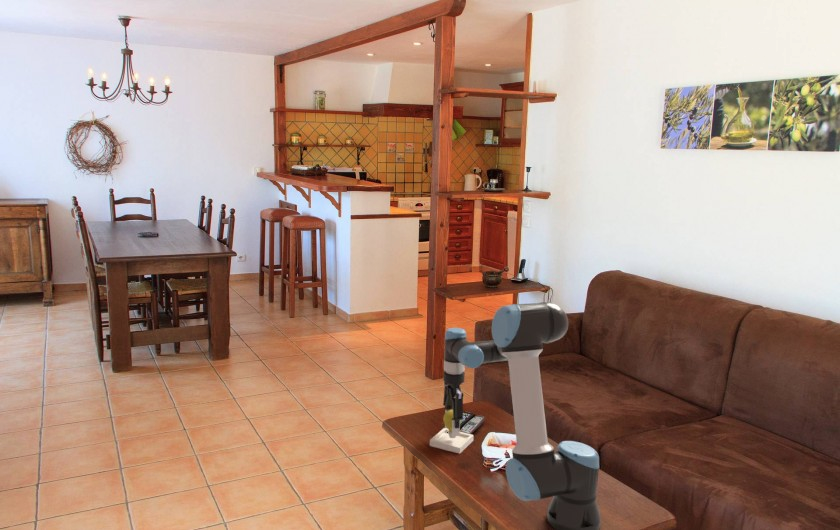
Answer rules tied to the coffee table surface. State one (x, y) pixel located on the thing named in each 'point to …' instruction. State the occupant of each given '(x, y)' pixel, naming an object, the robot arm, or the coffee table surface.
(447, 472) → the coffee table surface
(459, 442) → the tray
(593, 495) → the robot arm
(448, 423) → the light bulb
